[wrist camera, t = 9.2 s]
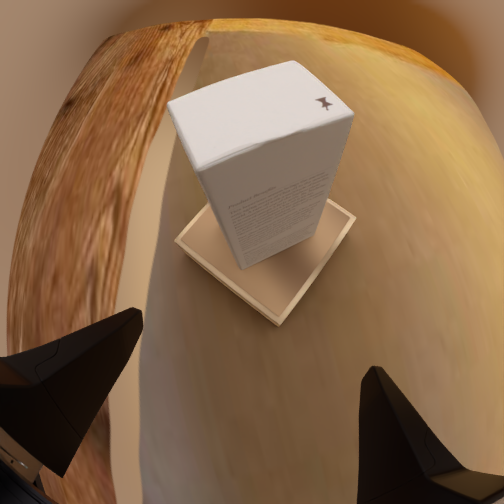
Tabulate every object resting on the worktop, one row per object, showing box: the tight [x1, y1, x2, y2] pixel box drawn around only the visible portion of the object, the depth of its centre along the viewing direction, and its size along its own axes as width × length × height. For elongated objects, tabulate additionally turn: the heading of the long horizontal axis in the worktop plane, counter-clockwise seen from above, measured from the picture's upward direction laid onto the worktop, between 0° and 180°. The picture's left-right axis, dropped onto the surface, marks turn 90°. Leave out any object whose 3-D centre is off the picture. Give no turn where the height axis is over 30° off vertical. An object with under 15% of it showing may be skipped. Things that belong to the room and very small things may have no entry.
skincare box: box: [167, 61, 354, 270], centre depth 14 cm, size 6×4×12 cm
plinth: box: [174, 198, 356, 327], centre depth 21 cm, size 10×10×3 cm
